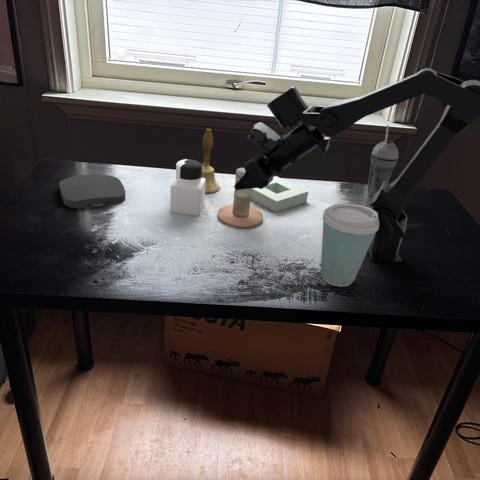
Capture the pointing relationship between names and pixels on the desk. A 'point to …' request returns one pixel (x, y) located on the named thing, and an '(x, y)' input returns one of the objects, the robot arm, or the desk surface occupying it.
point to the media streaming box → (91, 191)
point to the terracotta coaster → (231, 220)
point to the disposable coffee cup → (346, 241)
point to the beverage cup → (381, 164)
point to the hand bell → (208, 171)
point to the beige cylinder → (241, 198)
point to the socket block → (279, 195)
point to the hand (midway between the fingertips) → (242, 181)
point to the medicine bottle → (188, 188)
